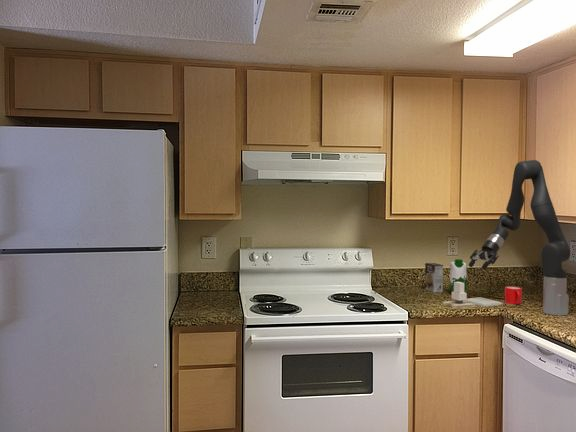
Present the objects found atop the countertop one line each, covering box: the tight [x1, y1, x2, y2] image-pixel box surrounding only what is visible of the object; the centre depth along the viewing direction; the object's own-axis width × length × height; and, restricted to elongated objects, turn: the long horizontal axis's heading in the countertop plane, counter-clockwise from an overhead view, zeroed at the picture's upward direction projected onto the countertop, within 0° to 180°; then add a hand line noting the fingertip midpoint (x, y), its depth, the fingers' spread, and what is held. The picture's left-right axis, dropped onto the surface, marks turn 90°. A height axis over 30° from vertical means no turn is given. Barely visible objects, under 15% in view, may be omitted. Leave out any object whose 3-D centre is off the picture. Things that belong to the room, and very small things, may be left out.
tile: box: [463, 296, 503, 307], centre depth 225 cm, size 14×12×1 cm
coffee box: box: [424, 262, 444, 293], centre depth 257 cm, size 9×6×16 cm
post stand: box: [442, 292, 477, 310], centre depth 219 cm, size 11×11×7 cm
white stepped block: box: [451, 282, 468, 301], centre depth 219 cm, size 5×5×8 cm
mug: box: [504, 285, 523, 305], centre depth 223 cm, size 8×12×8 cm, turn 177°
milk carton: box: [449, 258, 467, 294], centre depth 247 cm, size 9×9×20 cm
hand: (476, 267), depth 223 cm, fingers open, 8 cm apart
